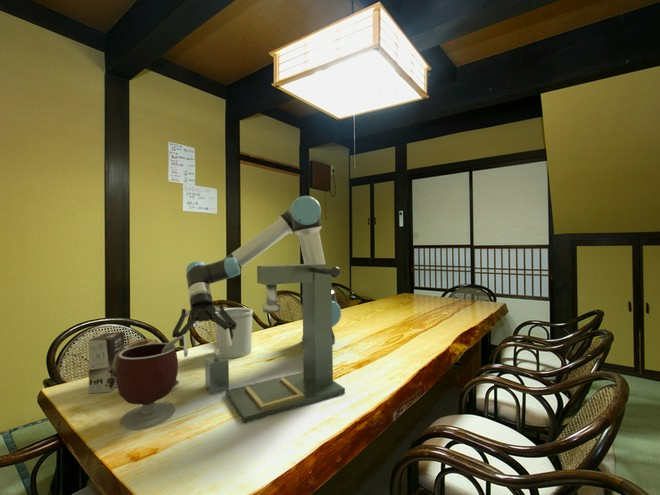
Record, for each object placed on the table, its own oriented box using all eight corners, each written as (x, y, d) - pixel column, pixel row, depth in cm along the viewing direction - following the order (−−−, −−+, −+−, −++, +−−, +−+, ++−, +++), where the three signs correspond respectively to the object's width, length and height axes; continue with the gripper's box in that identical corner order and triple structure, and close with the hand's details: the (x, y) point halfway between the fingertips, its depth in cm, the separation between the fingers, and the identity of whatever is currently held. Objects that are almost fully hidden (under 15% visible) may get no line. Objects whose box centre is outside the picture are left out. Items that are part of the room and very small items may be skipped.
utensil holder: (251, 345, 143) (251, 306, 143) (254, 356, 129) (254, 312, 129) (216, 349, 138) (216, 308, 138) (215, 360, 124) (215, 315, 124)
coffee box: (111, 392, 97) (111, 339, 97) (88, 394, 96) (87, 340, 96) (125, 380, 106) (125, 331, 106) (104, 381, 105) (103, 332, 105)
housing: (223, 382, 104) (222, 345, 104) (228, 389, 98) (228, 350, 98) (205, 385, 101) (205, 347, 101) (210, 394, 95) (209, 353, 95)
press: (315, 373, 110) (313, 262, 110) (361, 404, 88) (359, 265, 88) (225, 395, 94) (224, 266, 94) (254, 439, 72) (252, 270, 72)
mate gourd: (110, 437, 74) (109, 350, 74) (122, 409, 87) (121, 335, 87) (184, 421, 80) (183, 341, 80) (185, 398, 93) (184, 329, 93)
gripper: (233, 301, 125) (245, 350, 112) (161, 307, 112) (165, 363, 99) (237, 289, 120) (249, 338, 108) (162, 294, 107) (166, 351, 95)
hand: (209, 351), depth 103 cm, fingers open, 13 cm apart
